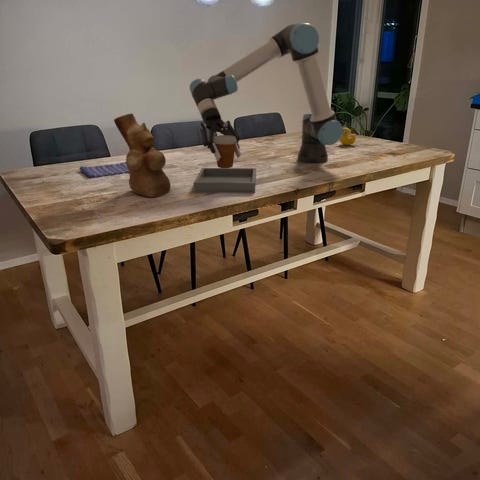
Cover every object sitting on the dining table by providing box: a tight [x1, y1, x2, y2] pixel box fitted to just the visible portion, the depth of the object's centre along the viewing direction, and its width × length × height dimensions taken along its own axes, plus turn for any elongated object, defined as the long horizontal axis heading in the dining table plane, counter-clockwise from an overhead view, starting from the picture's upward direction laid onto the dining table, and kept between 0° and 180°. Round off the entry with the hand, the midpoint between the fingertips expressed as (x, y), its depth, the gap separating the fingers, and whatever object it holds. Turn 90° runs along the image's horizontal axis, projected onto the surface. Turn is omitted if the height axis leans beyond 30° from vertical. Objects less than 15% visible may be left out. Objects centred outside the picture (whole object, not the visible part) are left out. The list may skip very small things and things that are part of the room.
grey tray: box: [193, 167, 257, 194], centre depth 191 cm, size 24×24×4 cm
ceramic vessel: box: [113, 112, 172, 198], centre depth 177 cm, size 16×22×30 cm
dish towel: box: [78, 161, 129, 179], centre depth 213 cm, size 17×24×3 cm
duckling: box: [339, 127, 357, 146], centre depth 266 cm, size 11×5×10 cm, turn 62°
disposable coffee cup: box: [213, 134, 237, 168], centre depth 186 cm, size 10×10×12 cm
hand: (229, 157), depth 184 cm, fingers closed on disposable coffee cup, 9 cm apart
